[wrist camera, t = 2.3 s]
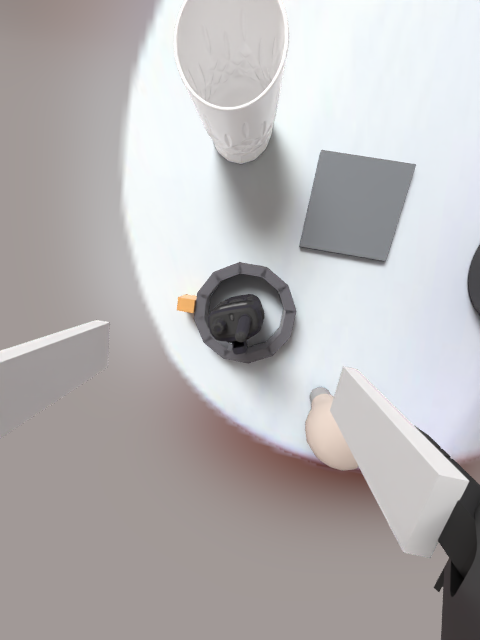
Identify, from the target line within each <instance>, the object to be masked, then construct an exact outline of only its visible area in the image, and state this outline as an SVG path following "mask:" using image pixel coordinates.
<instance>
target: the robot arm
mask: <svg viewBox="0 0 480 640" xmlns="http://www.w3.org/2000/svg"><path fill="white" fill-rule="evenodd" d="M469 293H470V297H471V300H472V302H473V305H474V307H475V309H476V310H477V312H478V313H479V314H480V246H479V247H478V249H477V251H476V253H475V255H474V258H473V260H472V263H471V267H470V272H469ZM109 326H110V323H109V322H105V321H99V320H95V321H92V322H89V323H85V324H83V325H79V326H76V327H73V328H70V329H67V330H64V331H60V332H57V333H54V334H51V335H48V336H45V337H42V338H39V339H36V340H32V341H29V342H26V343H23V344H20V345H17V346H14V347H11V348H8V349H5V350H1V351H0V438H2V437H3V436H5V435H6V434H8V433H9V432H11V431H12V430H14V429H15V428H17V427H18V426H20V425H21V424H23V423H24V422H26V421H28V420H29V419H30V418H32V417H34V416H35V415H36V414H38V413H40V412H41V411H43V410H44V409H46V408H47V407H49V406H50V405H52V404H53V403H55V402H56V401H58V400H59V399H61V398H62V397H64V396H65V395H67V394H68V393H70V392H71V391H73V390H74V389H76V388H77V387H79V386H80V385H82V384H83V383H85V382H86V381H88V380H89V379H91V378H92V377H94V376H95V375H97V374H98V373H100V372H101V371H103V370H104V369H106V368H107V367H108V352H109ZM330 412H331V414H332V416H333V418H334V419H335V421H336V423H337V425H338V427H339V429H340V431H341V433H342V435H343V437H344V439H345V441H346V443H347V445H348V447H349V448H350V450H351V452H352V454H353V456H354V458H355V460H356V462H357V464H358V466H359V468H360V470H361V472H362V474H363V476H364V477H365V479H366V481H367V483H368V485H369V487H370V489H371V491H372V493H373V495H374V496H375V499H376V501H377V502H378V505H379V507H380V508H381V510H382V512H383V514H384V516H385V518H386V520H387V522H388V524H389V526H390V528H391V530H392V532H393V533H394V536H395V537H396V539H397V541H398V543H399V545H400V547H401V549H402V551H403V552H404V553H408V554H413V555H418V556H422V557H427V558H431V556H432V554H433V552H434V550H435V548H436V546H437V544H438V542H439V543H440V544H441V546H442V547H443V549H444V550H445V552H446V553H447V555H448V556H449V560H448V561H447V563H446V565H445V567H444V569H443V571H442V573H441V575H440V576H439V578H438V580H437V582H436V584H435V586H434V588H435V589H436V590H437V591H438V592H439V591H440V589H441V587H443V609H442V631H441V640H480V485H479V484H478V483H477V482H476V481H475V480H474V479H473V478H472V477H471V476H470V475H469V474H468V473H467V472H466V471H464V469H463V468H462V467H461V466H460V465H459V464H458V463H456V462H455V461H454V460H453V459H451V458H450V456H449V455H448V454H447V453H446V452H445V451H444V450H443V449H441V448H440V446H439V445H438V444H437V443H436V442H435V441H434V440H433V439H432V438H431V437H430V436H428V435H427V434H426V433H424V432H423V431H421V430H420V429H418V428H417V427H416V426H414V425H413V424H412V423H411V422H410V421H409V420H408V419H407V418H406V417H405V416H404V415H403V414H402V413H401V412H400V411H399V410H398V409H397V408H396V407H395V406H394V405H393V404H392V403H391V402H390V401H389V400H388V399H387V398H386V397H385V396H384V395H383V394H382V393H381V392H380V391H379V390H378V389H377V388H376V387H375V386H374V385H373V384H372V383H371V382H370V381H369V380H368V379H367V378H366V377H365V376H364V375H363V374H362V373H361V372H360V371H359V370H358V369H354V368H349V367H343V369H342V372H341V375H340V379H339V382H338V385H337V388H336V392H335V395H334V398H333V402H332V405H331V408H330Z"/></svg>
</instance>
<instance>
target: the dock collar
mask: <svg viewBox="0 0 480 640" xmlns="http://www.w3.org/2000/svg"><path fill="white" fill-rule="evenodd" d="M238 274H247V275H252V276H258V277H262V278H264V279H265V280H266V281H267V282H268V283H269V284H271V285H272V286H273V287H274V288H275V289H276V290H277V291H278V294H279V297H280V300H281V303H282V306H283V313H282V317H281V322H280V327H279V328H278V329H277V330H276V332H275V333H274V334H273V335H272V336H271V337H270V338H269V339H268V340H267V341H266V342H263V343H260V344H257V345H254V346H251V347H247V351H246V352H245V353H243V354H237V355H236V354H234V353H233V350H232V348H233V346H232V344H230V343H229V342H225V341H218V340H215V339H214V337H213V336H212V334H211V333H210V330H209V328H208V316H209V315H208V313H209V306H210V299H211V295H212V293H213V292H214V291H215V290H216V288H217V287H218V286H219V285H220V283H221V282H222V281H223V280H225V279H227V278H230V277H233V276H235V275H238ZM177 310H179V311H184V312H189V313H194V312H195V314H194V320H195V323H196V325H197V328H198V330H199V332H200V335H201V337H202V340H203V342H204V343H205V344H206V345H207V346H209V347H210V348H211V349H212V350H214V351H215V352H216V353H217V354H219V355H220V356H221V357H222V358H224V359H229V360H234V361H239V362H244V363H251V362H254V361H257V360H260V359H264V358H267V357H270V356H273V355H274V354H275V353H276V352H277V351H278V350H279V349H280V347H281V346H282V345H283V344H284V343H285V342H286V341H287V340H288V339H289V338H290V337H291V332H292V328H293V324H294V320H295V315H296V308H295V305H294V302H293V299H292V296H291V293H290V290H289V287H288V285H287V284H286V283H285V282H284V281H282V280H281V279H280V278H279V277H278V276H277V275H276V274H274V273H273V272H272V271H271V270H270V269H269V268H267V267H264V266H258V265H252V264H247V263H241V262H239V263H236V264H233V265H231V266H228V267H226V268H223V269H220V270H218V271H215V272H213V274H212V275H211V276H210V277H209V279H208V280H207V281H206V282H205V284H204V285H203V286H202V288H201V289H200V290H199V291H198V293H197V296H193V295H187V294H186V295H183V296H180V297H178V305H177Z"/></svg>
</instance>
